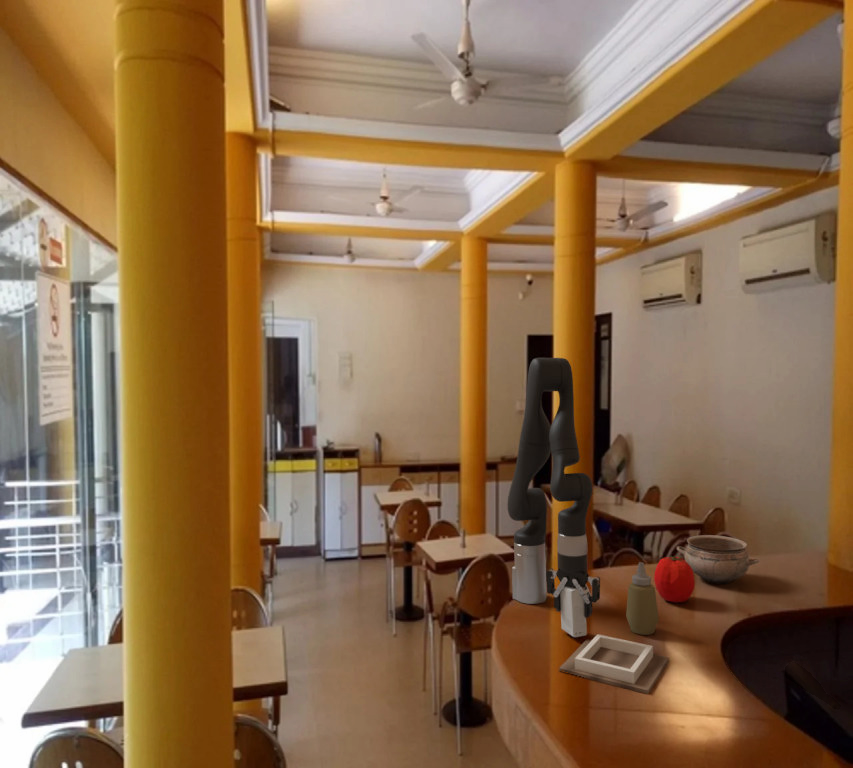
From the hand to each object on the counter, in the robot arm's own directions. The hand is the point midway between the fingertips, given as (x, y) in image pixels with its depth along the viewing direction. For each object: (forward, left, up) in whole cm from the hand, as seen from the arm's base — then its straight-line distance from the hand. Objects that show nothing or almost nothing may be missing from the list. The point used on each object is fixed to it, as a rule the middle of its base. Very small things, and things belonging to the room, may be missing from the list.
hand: (573, 613), depth 168 cm
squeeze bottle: (+14, +12, -6) cm, 20 cm away
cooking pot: (+24, +63, -6) cm, 67 cm away
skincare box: (0, 0, -5) cm, 5 cm away
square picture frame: (+14, -11, -6) cm, 19 cm away
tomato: (+16, +38, -6) cm, 42 cm away
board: (+14, -11, -6) cm, 19 cm away
